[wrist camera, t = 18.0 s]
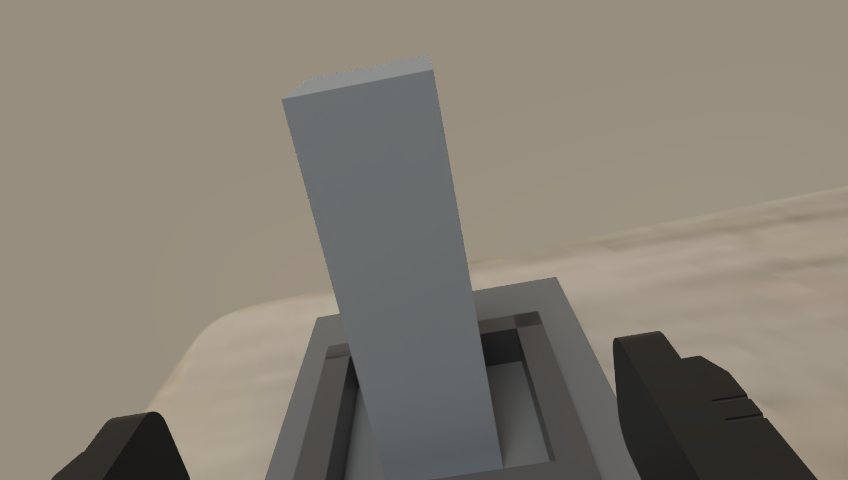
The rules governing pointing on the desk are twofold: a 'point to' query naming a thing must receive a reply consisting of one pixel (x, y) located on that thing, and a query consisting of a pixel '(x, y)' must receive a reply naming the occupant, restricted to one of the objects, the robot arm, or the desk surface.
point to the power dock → (509, 388)
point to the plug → (398, 264)
